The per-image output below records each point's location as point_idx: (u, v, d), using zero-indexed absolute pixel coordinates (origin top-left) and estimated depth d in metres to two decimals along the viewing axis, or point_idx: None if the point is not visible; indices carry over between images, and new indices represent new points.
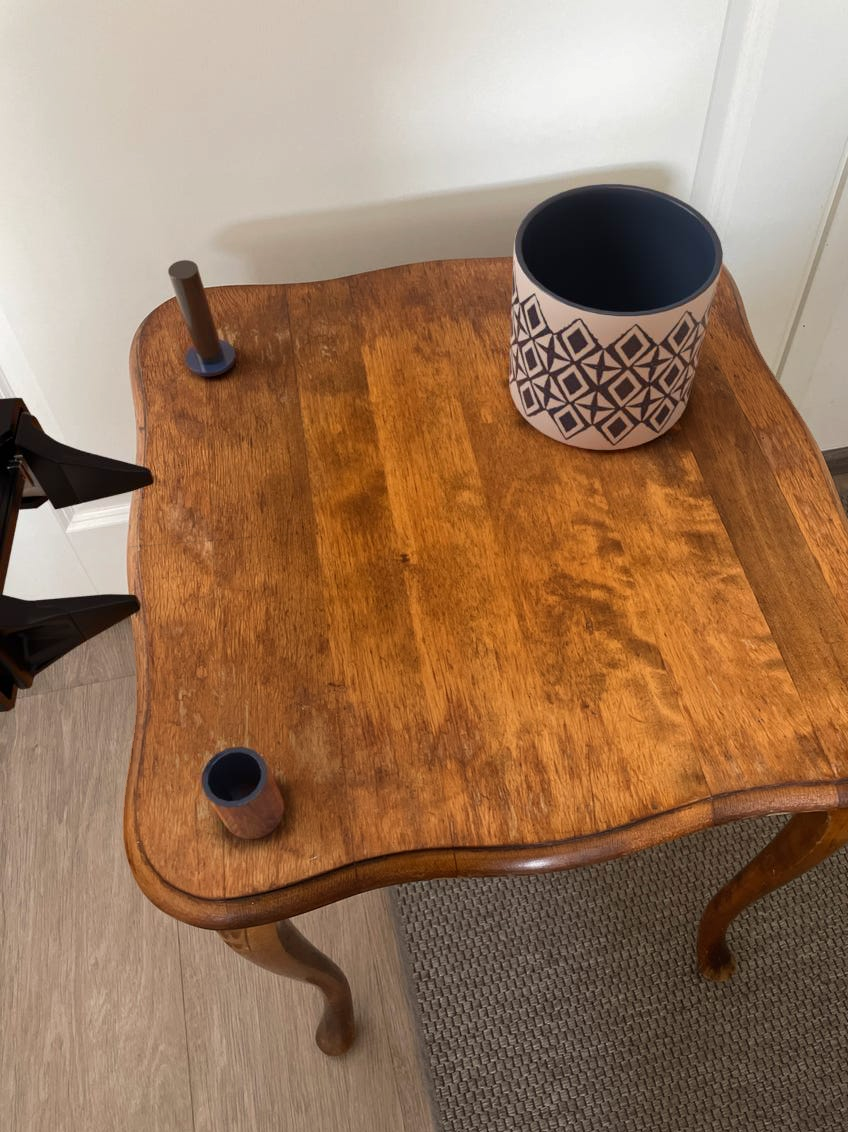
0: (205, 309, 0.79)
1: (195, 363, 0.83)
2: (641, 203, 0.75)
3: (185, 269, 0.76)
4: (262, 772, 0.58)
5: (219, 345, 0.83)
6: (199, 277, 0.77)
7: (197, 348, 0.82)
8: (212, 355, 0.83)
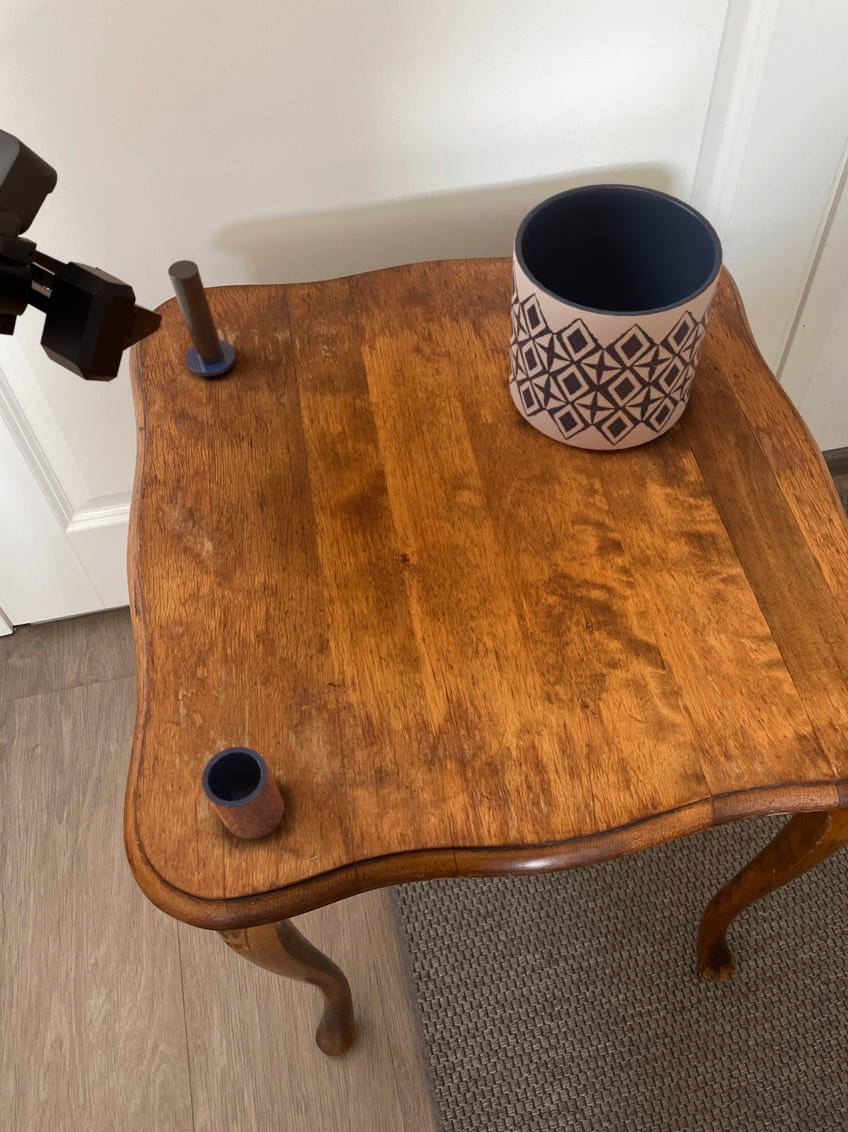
0: (205, 309, 0.79)
1: (195, 363, 0.83)
2: (641, 203, 0.75)
3: (185, 269, 0.76)
4: (262, 772, 0.58)
5: (219, 345, 0.83)
6: (199, 277, 0.77)
7: (197, 348, 0.82)
8: (212, 355, 0.83)
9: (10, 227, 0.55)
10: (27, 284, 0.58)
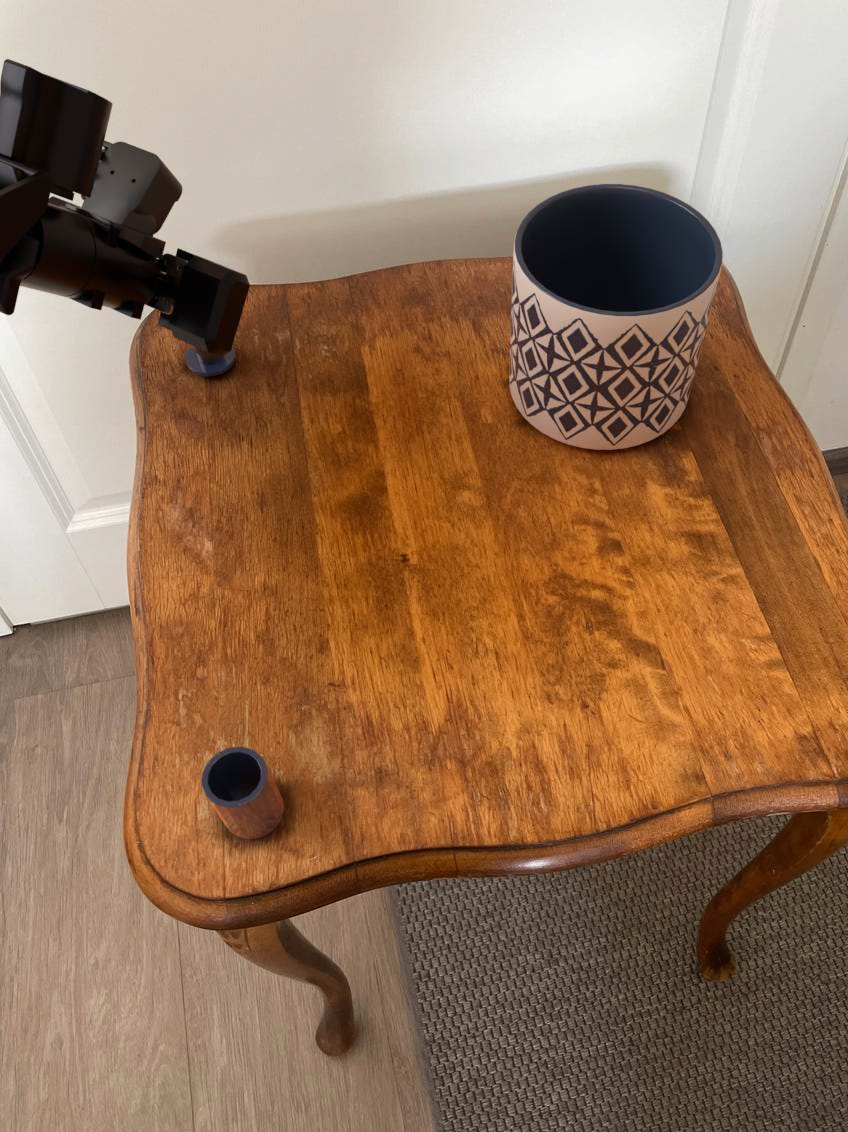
0: None
1: (195, 363, 0.83)
2: (641, 203, 0.75)
3: None
4: (262, 772, 0.58)
5: None
6: None
7: (197, 348, 0.82)
8: (212, 355, 0.83)
9: (148, 227, 0.68)
10: (155, 276, 0.70)
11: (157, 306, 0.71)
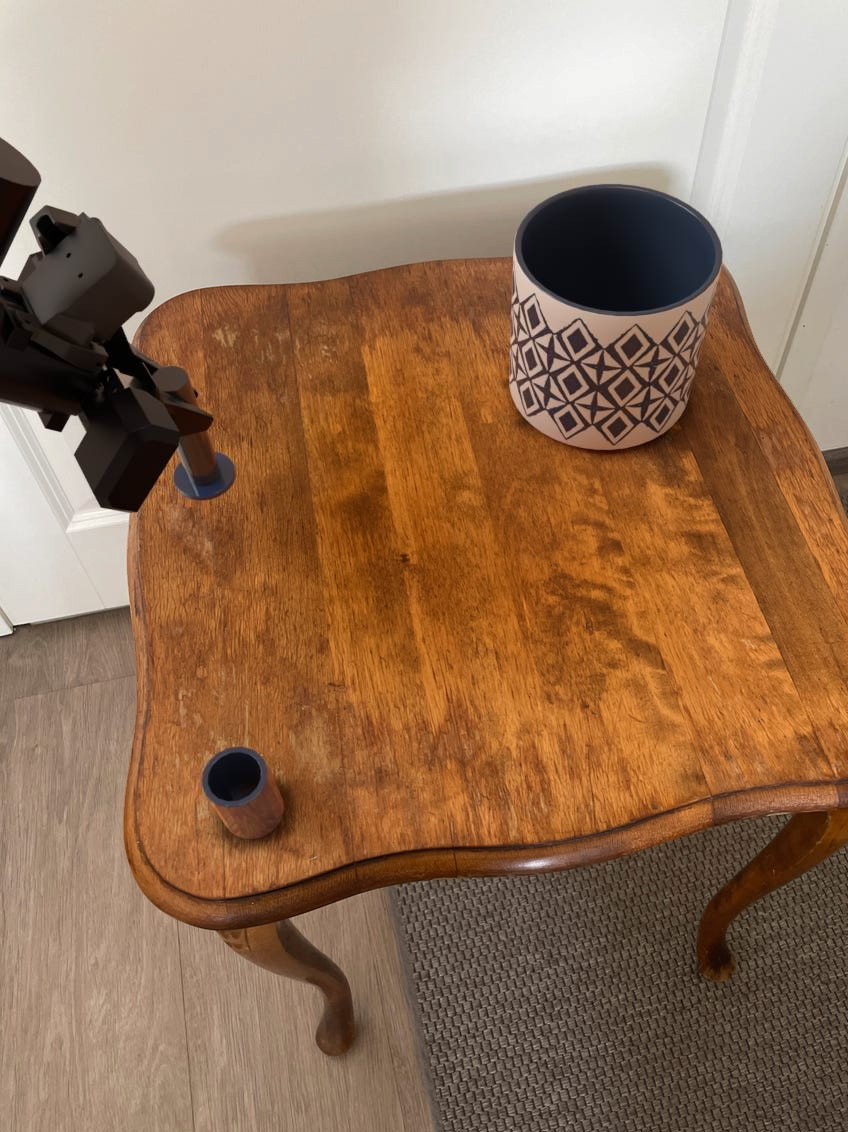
0: None
1: (182, 476, 0.67)
2: (641, 203, 0.75)
3: (171, 379, 0.60)
4: (262, 772, 0.58)
5: (211, 468, 0.66)
6: (185, 394, 0.60)
7: (182, 464, 0.66)
8: (198, 477, 0.66)
9: (81, 336, 0.52)
10: (88, 390, 0.54)
11: (85, 423, 0.56)
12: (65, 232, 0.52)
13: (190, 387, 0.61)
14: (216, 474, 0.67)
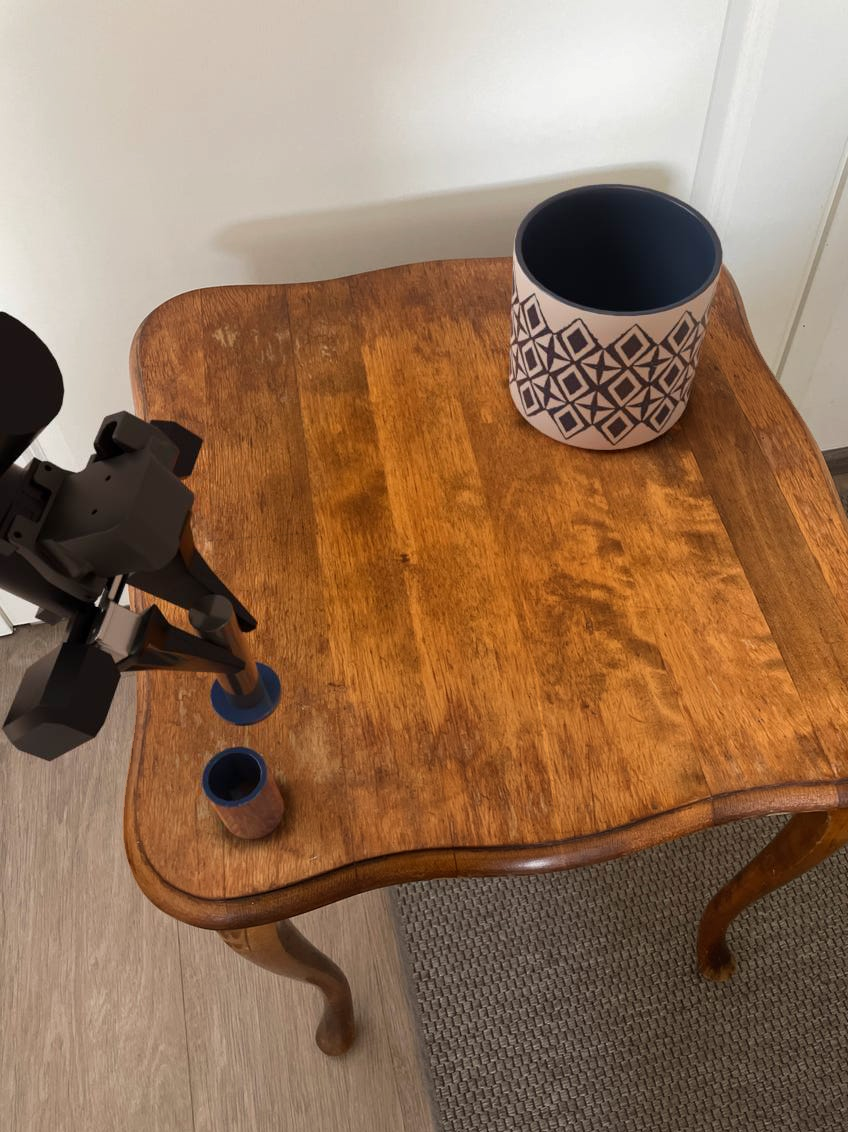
0: None
1: None
2: (641, 203, 0.75)
3: (211, 615, 0.50)
4: (262, 772, 0.58)
5: (243, 698, 0.57)
6: (217, 636, 0.51)
7: None
8: (229, 698, 0.57)
9: (71, 569, 0.43)
10: (78, 610, 0.46)
11: None
12: (124, 450, 0.44)
13: (228, 631, 0.51)
14: (250, 703, 0.57)
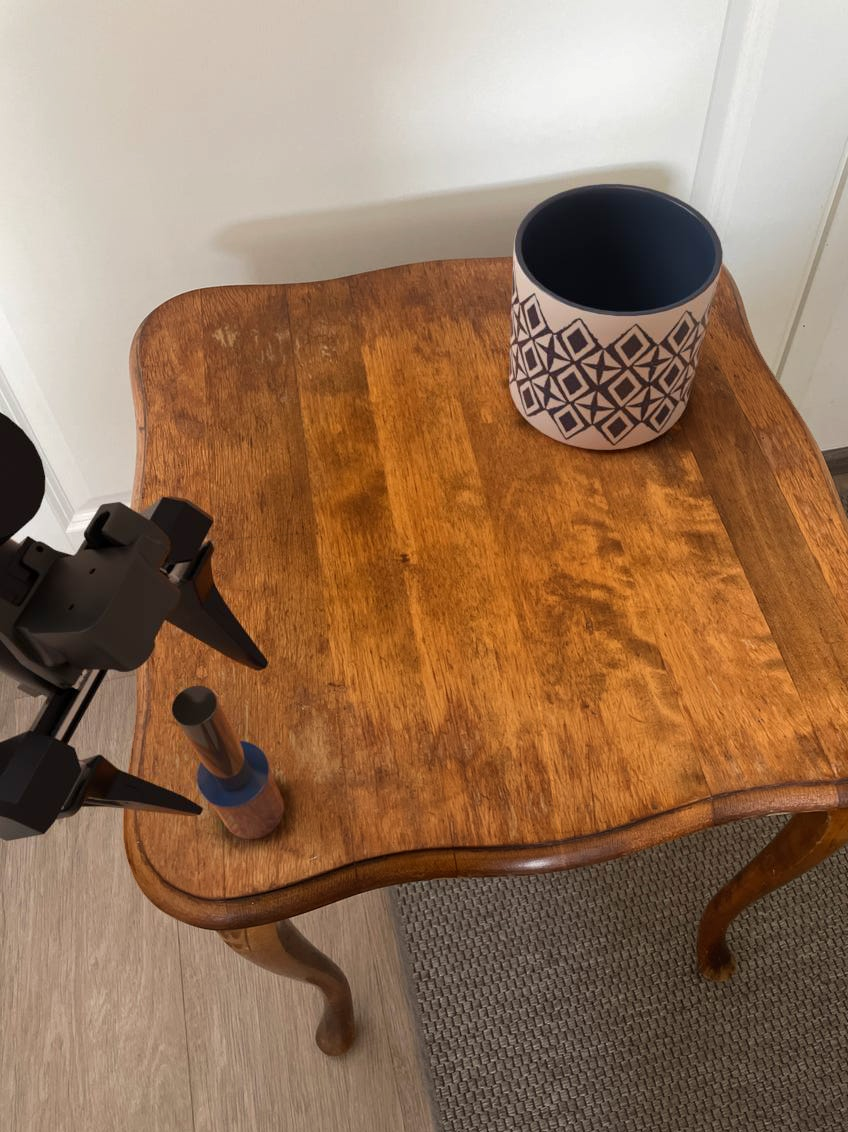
0: (202, 753, 0.52)
1: None
2: (641, 203, 0.75)
3: (194, 708, 0.49)
4: None
5: (227, 782, 0.56)
6: (198, 731, 0.50)
7: None
8: (213, 779, 0.56)
9: (44, 658, 0.42)
10: (55, 692, 0.45)
11: None
12: (112, 543, 0.42)
13: (210, 726, 0.50)
14: (235, 787, 0.56)
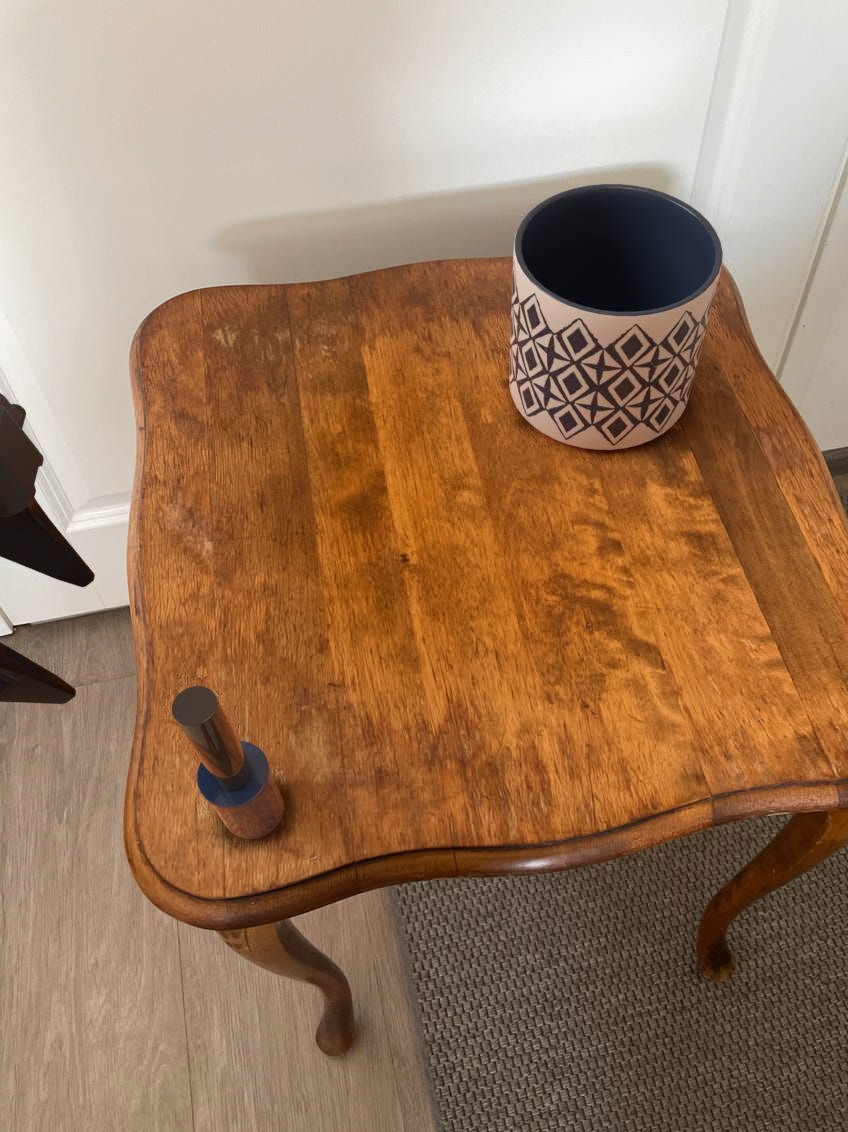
0: (202, 753, 0.52)
1: None
2: (641, 203, 0.75)
3: (194, 708, 0.49)
4: None
5: (227, 782, 0.56)
6: (198, 731, 0.50)
7: None
8: (213, 779, 0.56)
9: None
10: None
11: None
12: None
13: (210, 726, 0.50)
14: (235, 787, 0.56)
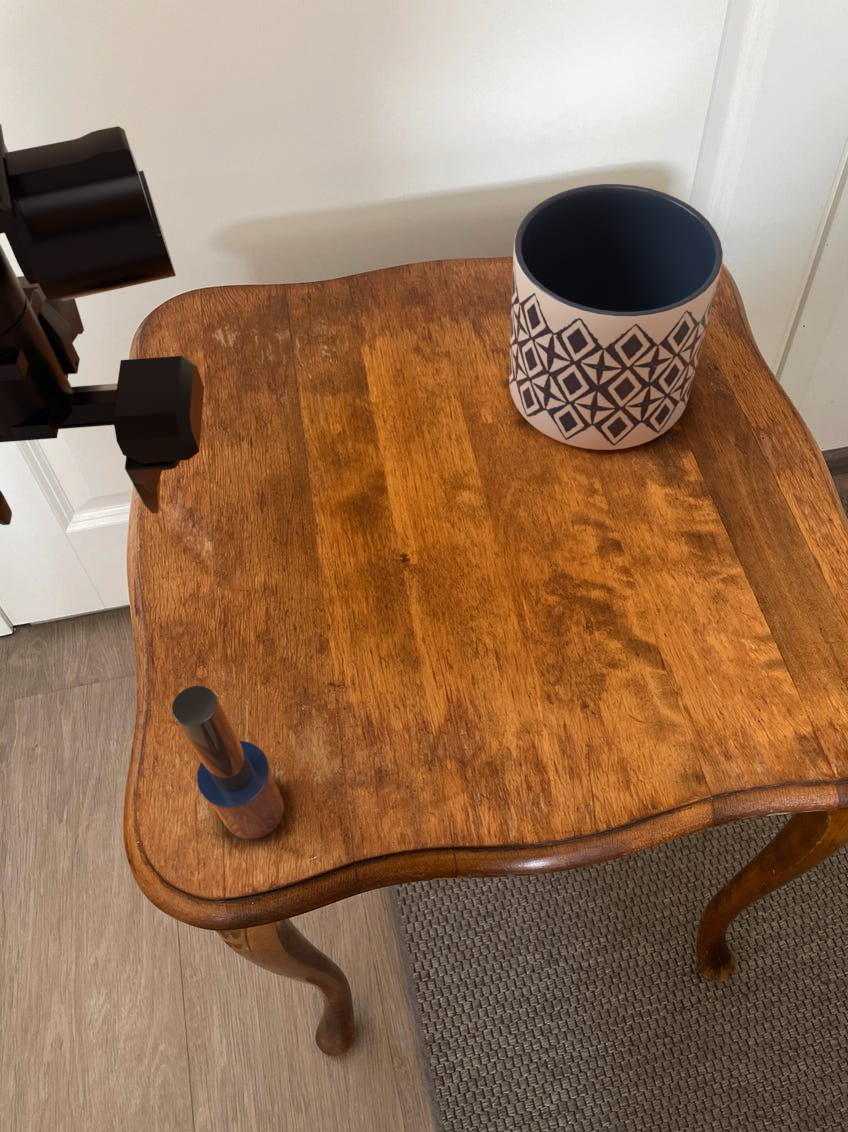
0: (202, 753, 0.52)
1: None
2: (641, 203, 0.75)
3: (194, 708, 0.49)
4: None
5: (227, 782, 0.56)
6: (198, 731, 0.50)
7: None
8: (213, 779, 0.56)
9: (65, 326, 0.52)
10: (72, 391, 0.52)
11: None
12: None
13: (210, 726, 0.50)
14: (235, 787, 0.56)
